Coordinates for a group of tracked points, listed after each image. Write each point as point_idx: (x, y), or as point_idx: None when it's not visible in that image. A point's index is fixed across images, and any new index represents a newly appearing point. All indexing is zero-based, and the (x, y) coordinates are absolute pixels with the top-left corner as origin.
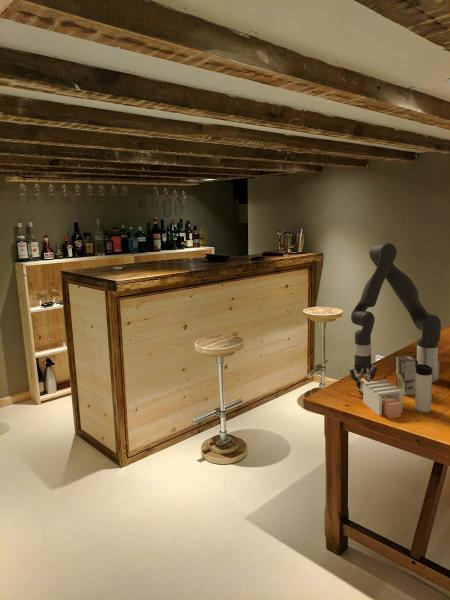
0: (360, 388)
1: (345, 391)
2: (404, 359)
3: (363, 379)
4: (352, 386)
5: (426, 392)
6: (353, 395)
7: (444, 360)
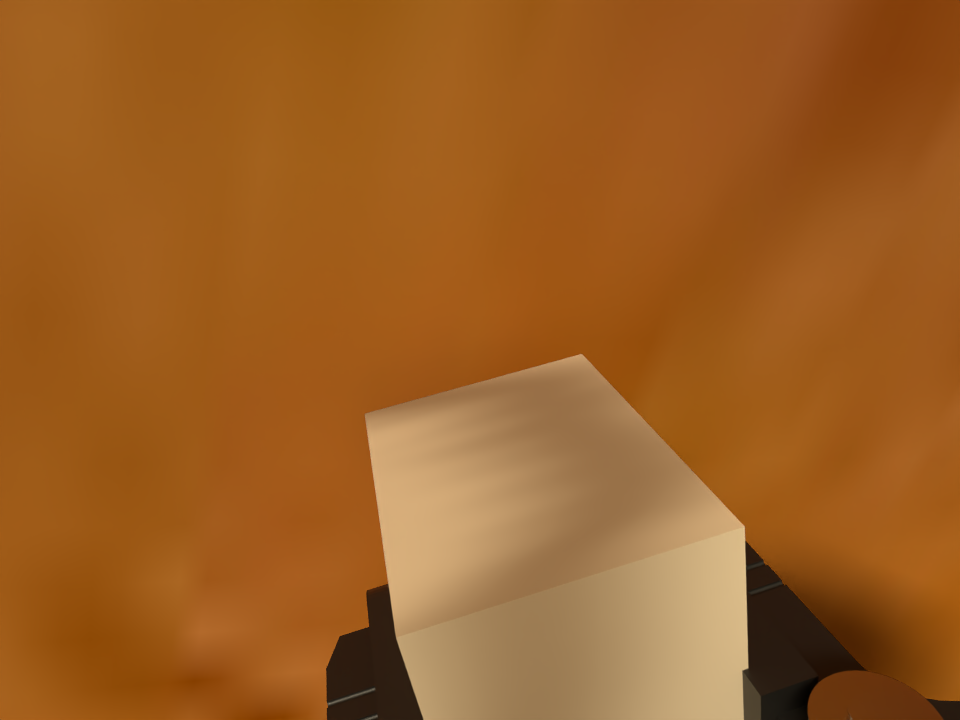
0: None
1: (7, 473)
2: None
3: (695, 637)
4: (283, 78)
5: None
6: (225, 685)
7: None
